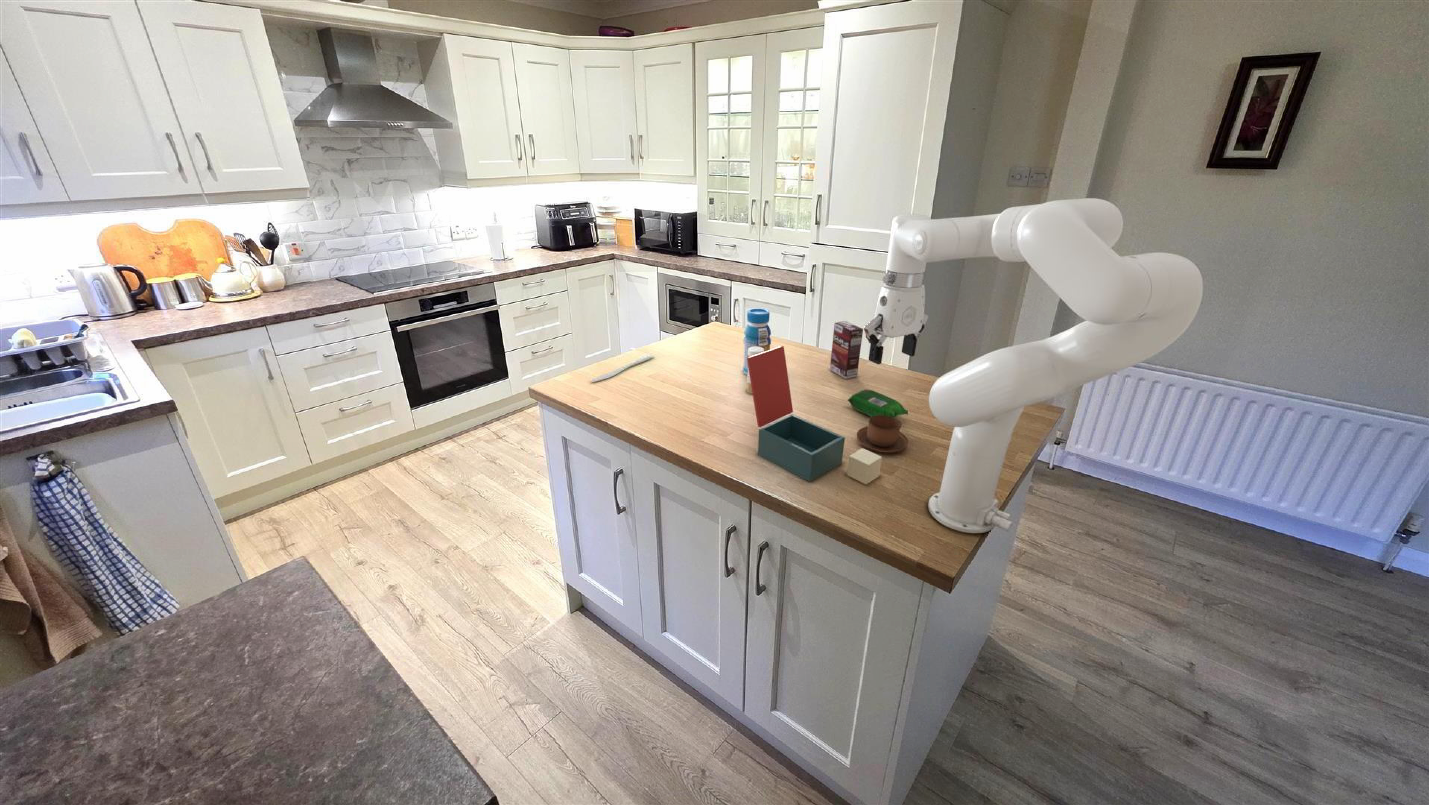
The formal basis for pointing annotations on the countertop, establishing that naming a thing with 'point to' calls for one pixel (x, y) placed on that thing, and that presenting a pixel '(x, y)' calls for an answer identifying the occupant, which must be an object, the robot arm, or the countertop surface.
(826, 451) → the open box
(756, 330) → the beverage bottle
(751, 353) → the sprinkles bottle
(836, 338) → the supplement box
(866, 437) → the cup and saucer
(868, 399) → the snack package
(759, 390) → the lid
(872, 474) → the block
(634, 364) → the butter knife
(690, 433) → the countertop surface
